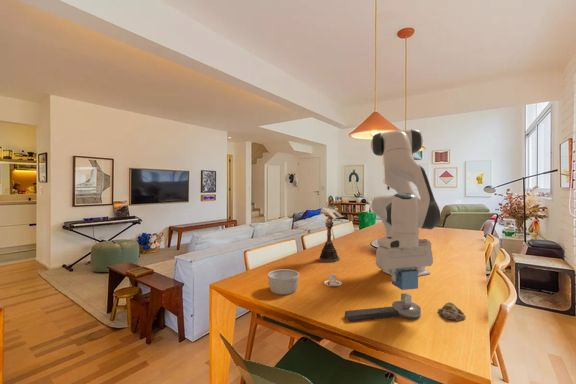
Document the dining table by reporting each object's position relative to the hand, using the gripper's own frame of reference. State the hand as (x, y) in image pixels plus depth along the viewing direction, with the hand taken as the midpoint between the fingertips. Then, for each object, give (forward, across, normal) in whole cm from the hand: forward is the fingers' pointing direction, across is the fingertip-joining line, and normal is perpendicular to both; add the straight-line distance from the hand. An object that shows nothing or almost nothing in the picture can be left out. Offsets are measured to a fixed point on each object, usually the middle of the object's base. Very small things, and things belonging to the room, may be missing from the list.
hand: (404, 280), depth 95 cm
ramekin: (+12, +37, -30) cm, 49 cm away
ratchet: (+11, +8, 0) cm, 14 cm away
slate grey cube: (+2, 0, 0) cm, 2 cm away
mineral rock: (+12, -15, +5) cm, 19 cm away
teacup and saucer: (+12, +17, -32) cm, 38 cm away
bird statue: (+11, -1, -69) cm, 70 cm away
